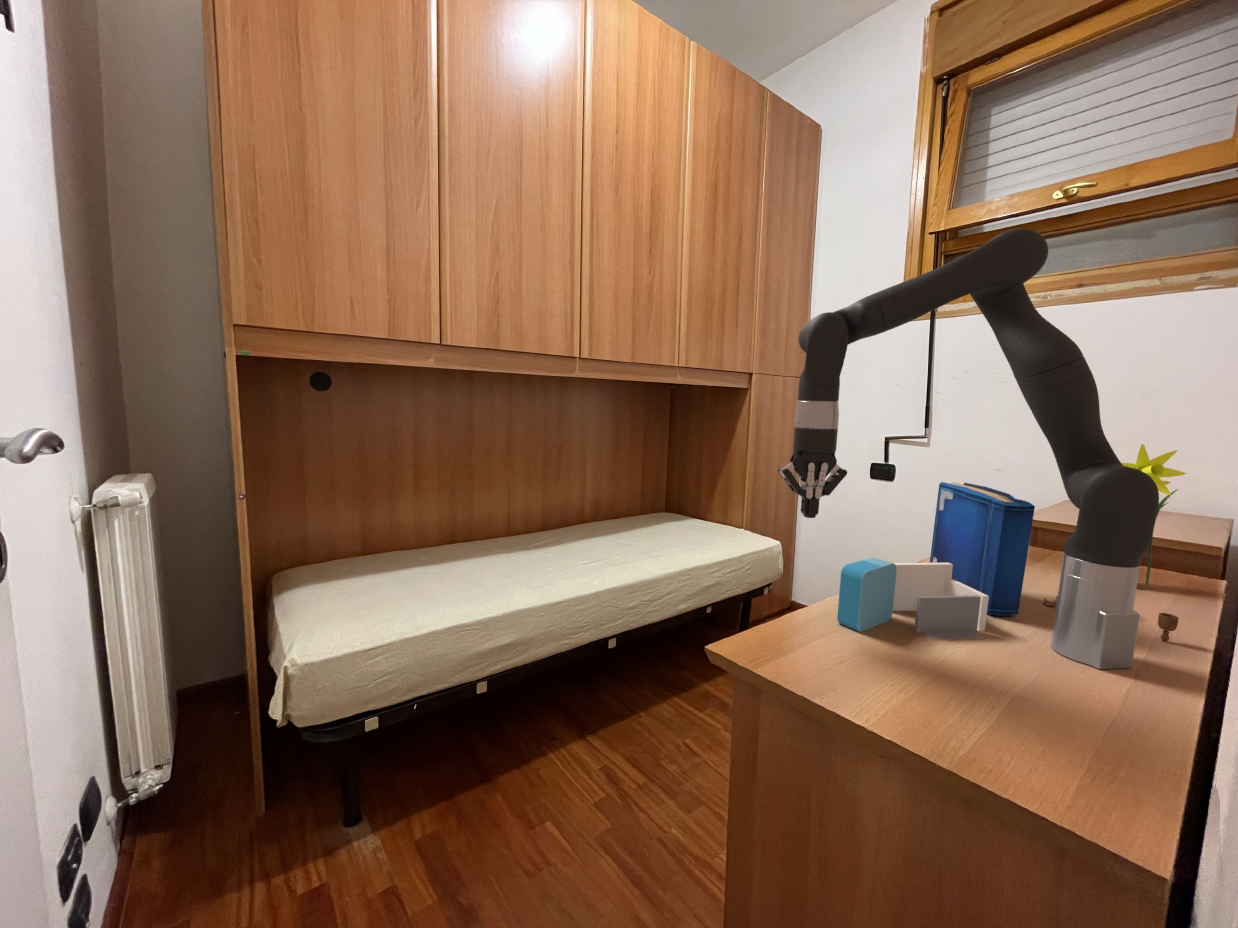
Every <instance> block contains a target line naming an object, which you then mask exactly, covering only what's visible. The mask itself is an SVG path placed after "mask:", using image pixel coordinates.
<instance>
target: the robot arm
mask: <svg viewBox="0 0 1238 928" xmlns="http://www.w3.org/2000/svg"><path fill="white" fill-rule="evenodd" d="M1048 256H1049V245H1048V242H1047V240H1046V239H1045V237H1044V236H1043V235H1042V234H1041V233H1039V232H1038V231H1035V230H1033V229H1030V228H1020V227H1019V228H1014V229H1009V230H1006V231H1004V232H1001V233H999V234H997V235H996V236H994V237H992V238H991V239H989V240H988V241H987V242H985V243H984V244H981V245H980V246H979V247H977V248H975V249H973V250H972V251H970V252H968V253H966V254H964V255H962V256H959V257H958V258H957V259H954V260H952V261H949V262H948V263H946V264H944V265H942V266H939V267H937V268H934V269H932V270H930V271H928V272H925V273H923V274H921V275H917V276H915V277H913V278H910V279H908V280H905V281H902V282H900V283H897V284H894V285H892V286H890V287H887V288H884V289H882V290H879V291H877V292H874V293H872V294H870V295H867V296H865V297H862V298H861V299H859V300H857V301H855V302H853V303H852V304H850V305H848V306H846V307H844V308H841V309H837V310H835V311H832V312H831V311H829V312H823V313H820V314H818V315H817V316H815V317H813V318H811V319H810V320H808V321H807V322H806V323H805V324H804V325H803V326H802V328H801V329H800V330H799V332H798V333H799V334H798V344H799V347H800V349H801V350H802V351H803V352H804V353H805V360H804V361H805V362H804V368H803V371H801V373H800V376H799V380H798V389H797V391H798V392H797V404H796V409H795V414H794V415H795V416H794V421H793V424H794V430H793V443H792V452H793V453H792V456H790V458H789V459H790V460H789V463H787V464H786V465H785V466H784V467H782V466H780V467H779V468H778V473H779V475H780V476H781V478H782V479H783V480H784V482H785V483H786V485H787V486H788V487H789V488H790V490H791V491H792V493H794V494H796V495H798V496H800V503H801V504H800V512H801V514H802V515H803V517H805V518H806V519H815V518H816V516H817V515H818V514H819V509H820V499H821V498H822V497H825V496H826V497H827V496H830V495H831V494H832V493H833V491H834V490H835V489H836V488H837V487H838V485H840V483H841V482H842V481H843V480H844V478H845V477H846V476H847V474H848V470H847V469H844V468H842V467H841V466H840V465H838V464H837V462H838V460H837V458H836V457H837V456H836V451H837V446H838V445H837V443H838V432H839V418H840V417H839V416H840V413H839V411H840V410H839V408H840V407H839V400H840V399H839V398H840V386H841V374H842V370H843V367H844V363H845V359H846V355H847V354H846V353H847V351H848V350H847V349H848V345H851V344H853V343H856V342H857V341H859V340H863V339H867V338H871V337H874V336H877V335H880V334H883V333H886V332H887V331H890V330H892V329H896V328H898V327H900V326H902V325H905V324H908V323H909V322H912V321H914V320H916V319H918V318H921V317H923V316H924V315H926V314H928V313H931V312H932V311H934V310H937V309H938V308H940V307H943V306H945V305H947V304H948V303H950V302H953V301H955V300H958V299H960V298H962V297H964V296H968V295H970V297H971V298H972V300H973V302H974V303H975V304H976V306H977V307H978V310H979V311H980V312H981V314H982V315H983V317H984V319H985V321H987V323H988V325H989V327H990V328H991V330H992V332H993V334H994V336H995V339H996V341H997V342H998V345H999V346H1000V349H1001V351H1002V353H1003V355H1004V357H1005V359H1006V360H1007V362H1008V365H1009V367H1010V370H1011V371H1012V374H1013V377H1014V379H1015V381H1016V383H1017V385H1018V387H1019V389H1020V390H1019V391H1021V394H1022V395H1023V396H1022V397H1023V398H1024V400H1025V402H1026V404H1027V406H1028V408H1029V409H1030V411H1031V413H1032V415H1033V417H1034V419H1035V421H1036V423H1037V424H1038V426H1039V429H1041V432H1042V433H1043V435H1044V437H1045V438H1046V440H1047V442H1048V443H1049V446H1050V448H1051V449H1052V450H1051V451H1052V452H1053V453H1052V454H1053V455H1054V458H1055V461H1056V465H1057V468H1058V471H1059V473H1060V478H1061V481H1062V483H1063V487H1064V491H1065V493H1066V495H1067V498H1068V500H1069V501H1070V502H1071V503H1072V504H1073V506H1074V507H1076V508H1077V509H1078V515H1077V521H1076V527H1075V530H1074V531H1073V534H1071V535H1069V536H1068V537H1067V538H1066V539H1065V544H1064V549H1063V555H1062V563H1061V569H1060V570H1061V571H1060V579H1059V585H1058V592H1057V596H1058V598H1057V601H1056V606H1055V613H1054V621H1053V627H1052V628H1053V629H1052V636H1051V645H1050V646H1051V648H1052V649H1053V650H1054V651H1055V652H1057V653H1058V654H1060V655H1062V656H1063V657H1066V658H1068V659H1070V660H1073V661H1076V662H1078V663H1083V664H1085V665H1088V666H1091V667H1093V668H1095V669H1097V670H1107V669H1108V670H1109V669H1110V670H1111V669H1115V670H1116V669H1132V666H1133V660H1134V654H1135V649H1136V648H1135V647H1136V641H1137V637H1138V636H1137V635H1138V628H1139V622H1140V616H1141V614H1140V613H1139V612H1137V611H1136V610H1134V606H1135V601H1136V599H1135V598H1136V595H1137V589H1138V588H1137V587H1138V582H1139V581H1138V580H1139V576H1138V575H1140V571H1139V569H1141V566H1140V564H1141V565H1142V562H1141V559H1142V560H1143V558H1142V556H1143V557H1144V554H1145V553H1146V552H1147V551H1149V546H1150V543H1151V539H1152V535H1153V536H1154V529H1155V526H1156V525H1155V524H1156V521H1157V518H1158V515H1157V512H1158V505H1159V503H1160V491H1158V488H1157V485H1156V483H1155V482H1154V480H1153V479H1152V478H1151V477H1150V476H1149V475H1147V474H1146V473H1144V472H1142V471H1140V470H1137V469H1134V468H1131V467H1127V466H1123V465H1122V463H1123V462H1121V461H1120V459H1119V458H1118V456H1117V454H1116V453H1115V452H1114V450H1113V448H1112V446H1111V444H1110V442H1109V441H1108V439H1107V437H1106V435H1105V433H1104V430H1103V426H1102V422H1101V421H1102V420H1101V411H1100V397H1099V390H1098V386H1097V383H1096V379H1095V377H1094V374H1093V373H1092V370H1091V368H1090V366H1089V364H1088V362H1087V360H1086V358H1085V356H1084V354H1083V352H1082V350H1081V349H1080V347H1079V346H1078V344H1077V343H1076V342H1075V341H1073V340H1072V339H1071V338H1070V337H1069V335H1066V333H1064V332H1063V331H1061V329H1060V328H1058V327H1057V326H1056V325H1054V324H1052V323H1051V322H1049V320H1047V319H1046V318H1045V317H1043V316H1042V315H1041V314H1040V312H1039V311H1038V310H1037V309H1036V307H1035V306H1034V304H1033V302H1032V300H1031V298H1030V296H1029V293H1028V292H1027V290H1026V287H1025V283H1026V282H1028V281H1030V280H1031V279H1032V278H1034V277H1035V276H1036V275H1037V274H1038V273H1039V272H1040V271H1041V270H1042V268H1043V267H1044V265H1045V264H1046V262H1047V260H1048ZM795 473H796V474H797V476H798V477H799V482H798V481H797V479H796V478H795V476H794V475H795ZM1156 517H1157V518H1156Z"/></svg>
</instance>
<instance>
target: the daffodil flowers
mask: <svg viewBox="0 0 1238 928" xmlns="http://www.w3.org/2000/svg"><path fill="white" fill-rule="evenodd" d="M1147 451H1148V450H1146V446H1145V445H1144V444H1143V443H1142V444H1141V445H1140V448H1139V450H1138V453H1137V456H1136V457H1137V458H1136V462H1135V463H1128V462H1121V463H1122V465H1123V466H1127V467H1131V468H1134V469H1137V470H1140V471H1142V472H1144V473H1146V474H1147V475H1149V476H1150V477H1151V478H1152V479H1153V480H1154V482H1155V483H1156V485H1157V488H1158V491H1159V493H1162V494H1165V495H1166V496H1164V498H1162V500H1161V501H1159V505H1158V512H1157V517H1156V519H1157V518H1158V515H1159V513H1160V511H1161V509H1163V507H1165V506H1166V505H1167V504H1168V502H1166V501H1167V500H1168V499H1169V498H1171V496H1172V495H1173V494H1174V493H1176V492H1177V491H1178V490H1179V488H1176V489H1175V490H1173V491H1172V492H1170V490H1169V489H1168V487H1167V486H1166V485H1170V484H1171V483H1172V482H1171V481H1169V480H1168V481H1167V480H1162V479H1161V478H1172V477H1179V476H1184V475H1186V474H1187V473H1186V472H1184V471H1181V470H1178V469H1173V468H1169V467H1165V466H1163V465H1165V463H1167V462H1168V460H1170V459H1171V457H1174V455H1175V454H1176V453H1177V451H1178V450H1177V449H1175V450H1171V451H1169V452H1166V453H1163V454H1160V455H1158V456H1157V457H1154V458H1152V459H1150V458H1149V454H1148V452H1147ZM1153 537H1154V534H1153V535H1152V539H1151V543H1150V546H1149V548H1148V560H1147V567H1146V568H1147V570H1146V578H1145V585H1147V586H1149V582H1150V576H1151V575H1150V573H1151V565H1152V550H1153V539H1154V538H1153ZM1143 557H1144V555H1143V556H1142V559H1141V564H1140V567H1141V565H1142V561H1143ZM1140 569H1141V568H1140ZM1140 569H1139V572H1140ZM1139 575H1140V574H1139ZM1139 575H1138V577H1139Z"/></svg>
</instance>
